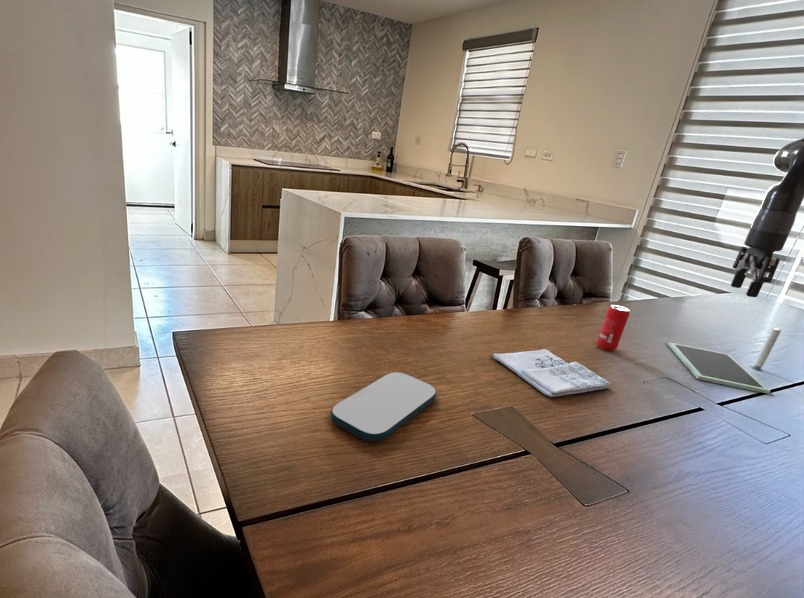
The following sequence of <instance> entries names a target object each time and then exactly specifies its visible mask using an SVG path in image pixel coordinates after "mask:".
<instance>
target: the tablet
mask: <svg viewBox="0 0 804 598" xmlns="http://www.w3.org/2000/svg"><path fill="white" fill-rule="evenodd" d="M667 345H668V346H669V348H670V349H671V350H672V351H673V353H674V354H675V355H676V356H677V357H678V358H679V359H680V360H681V362H682V363H683V364H684V365H685V366H686V368H687V369H688V370H689V371H690V372H691V373H692V374H693V376H694V377H695V378H696V379H697V380H700V381H704V382H709V383H715V384H720V385H724V386H728V387H733V388H738V389H743V390H748V391H752V392H757V393H762V394H767V395H770V393H771V389H769V388H768V387H767V386H766V385H765V384H764V383H762V382H761V380H759V379H758V378H757V377H756V376H754V374H753V373H752V372H750V371H749V370H748V369H747V368H746V367H744V365H742V364H741V363H740V362H739V361H738V360H737V359H735V357H733V356H732V355H731V354H730V353H728V352H727V353H726V352H721V351H716V350H711V349H705V348H701V347H697V346H690V345H685V344H681V343H675V342H671V341H669V342H668V344H667Z"/></svg>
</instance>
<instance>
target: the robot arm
mask: <svg viewBox="0 0 804 598" xmlns="http://www.w3.org/2000/svg"><path fill="white" fill-rule="evenodd" d="M772 161H773V167H774V168H775V170H778V172H780V173H784V174H785V175H784V177H783V178H782V180H781V181H780V182H779V183H776V184H773V185H771V186H769V188H768V190H767V191H766V193H765V196H764V198H763V200H762V203H761V205H760V207H759V209H758V211H757V213H756V214H755V216H754V219H753V221H752V224H751V226H750V228H749V231H748V233H747V236H746V237H745V240H744V243H743V244H744V245H745V246H741V247H740V249H739V251H738V253H737V256H736V258H735V260H734V263H733V265H732V269H734V273H735V274H734V276H733V279H732V280H731V283H730V287H731V288H736V289H740V288H742V286H743V284H744V282H745V279H746V277H747V274H748V273H749V272H750V274H751V275H752V277H751V278H752V281H751V282H750V284H749V286H748V289H747V291H746V293H745V296H747V297H748V298H749V297H750V298H758V296H759V293H760V291H761V290H762V287H763V285H764V284H766V283H769V284H770V283H772V280H773V279H774V276H775V273H776V271H777V268H778V266H779V265H780V262H781V259H780V258H779V257H773V256H774V253H775V252H781V251H782V250H783V249H784V246H785V244H786V242H787V240H788V238H789V235H790V233H791V231H792V229H793V226H794V225H795V221H796V219H797V218H796V217H797V216H798V212H799V210H800V207H801V206H802V204H803V201H804V138H800V139H797V140H794V141H791V142H790V143H788V144H786V145H784V146H783V147H781V148H780V149H779V150H777V152H776V153H775V155H774V157H773V160H772Z"/></svg>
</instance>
